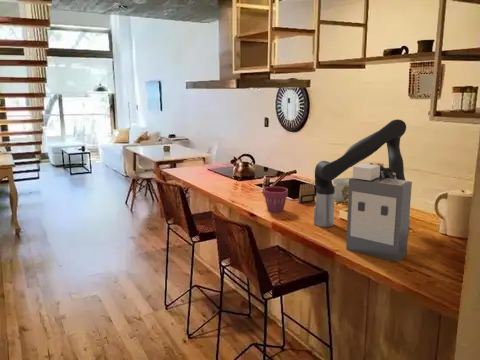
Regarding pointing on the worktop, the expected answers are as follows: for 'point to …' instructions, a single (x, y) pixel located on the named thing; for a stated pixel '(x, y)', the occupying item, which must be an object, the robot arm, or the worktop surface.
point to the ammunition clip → (307, 194)
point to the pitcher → (341, 189)
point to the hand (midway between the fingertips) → (374, 165)
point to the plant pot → (275, 198)
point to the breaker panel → (379, 217)
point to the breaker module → (367, 171)
